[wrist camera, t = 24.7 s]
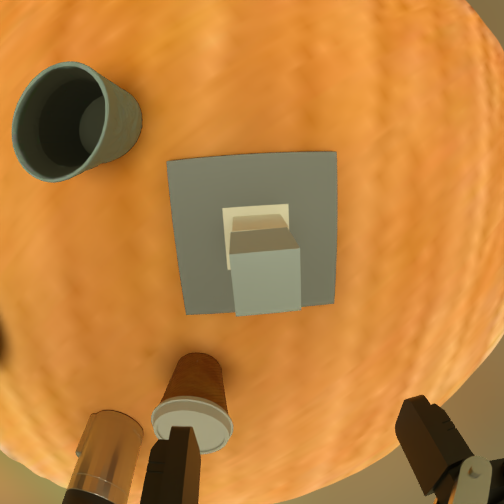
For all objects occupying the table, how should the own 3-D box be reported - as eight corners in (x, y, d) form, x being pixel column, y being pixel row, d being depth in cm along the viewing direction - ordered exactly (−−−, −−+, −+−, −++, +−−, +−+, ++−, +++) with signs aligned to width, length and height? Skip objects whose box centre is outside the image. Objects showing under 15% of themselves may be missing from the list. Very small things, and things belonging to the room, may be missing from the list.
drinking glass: (147, 77, 29) (108, 47, 18) (152, 163, 33) (112, 172, 21) (70, 94, 29) (10, 81, 18) (74, 175, 32) (15, 191, 21)
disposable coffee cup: (154, 350, 40) (134, 412, 29) (220, 336, 40) (216, 400, 29) (181, 397, 43) (171, 459, 32) (241, 386, 43) (244, 450, 32)
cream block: (236, 260, 35) (236, 283, 29) (233, 216, 33) (232, 231, 28) (281, 257, 35) (289, 279, 30) (279, 213, 34) (288, 227, 28)
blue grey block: (235, 283, 29) (236, 316, 24) (230, 232, 28) (229, 254, 22) (289, 279, 30) (301, 310, 24) (286, 227, 28) (299, 248, 22)
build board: (187, 308, 39) (186, 315, 37) (169, 160, 33) (166, 161, 31) (330, 298, 39) (334, 303, 37) (332, 151, 33) (336, 151, 32)
